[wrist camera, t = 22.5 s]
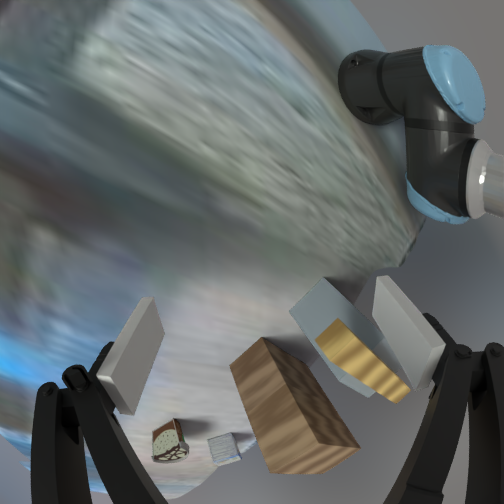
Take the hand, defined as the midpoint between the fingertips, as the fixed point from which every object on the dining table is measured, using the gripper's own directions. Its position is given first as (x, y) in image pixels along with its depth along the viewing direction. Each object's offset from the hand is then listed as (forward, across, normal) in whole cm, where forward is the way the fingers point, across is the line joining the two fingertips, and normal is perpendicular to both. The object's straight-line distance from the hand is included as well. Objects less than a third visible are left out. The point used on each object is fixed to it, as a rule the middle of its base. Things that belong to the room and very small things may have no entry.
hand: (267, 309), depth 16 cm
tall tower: (+35, 0, -39) cm, 52 cm away
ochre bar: (+17, +16, -25) cm, 34 cm away
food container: (+28, -29, -57) cm, 69 cm away
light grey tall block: (+38, +12, -27) cm, 48 cm away
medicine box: (+32, -17, -69) cm, 78 cm away
